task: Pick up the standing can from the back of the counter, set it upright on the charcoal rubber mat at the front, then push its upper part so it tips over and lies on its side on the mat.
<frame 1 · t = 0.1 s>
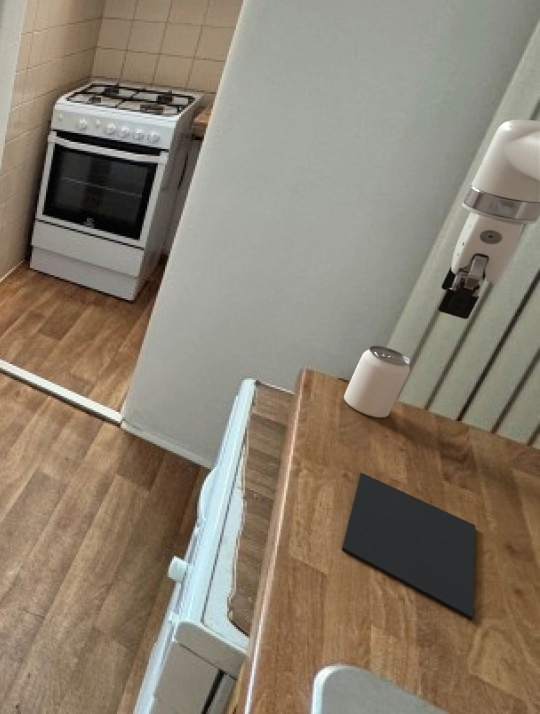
hand: (453, 302, 94), 29 cm above the countertop, tool pointing down, fingers open, 9 cm apart
can: (364, 407, 114), on the countertop
mat: (409, 538, 88), on the countertop
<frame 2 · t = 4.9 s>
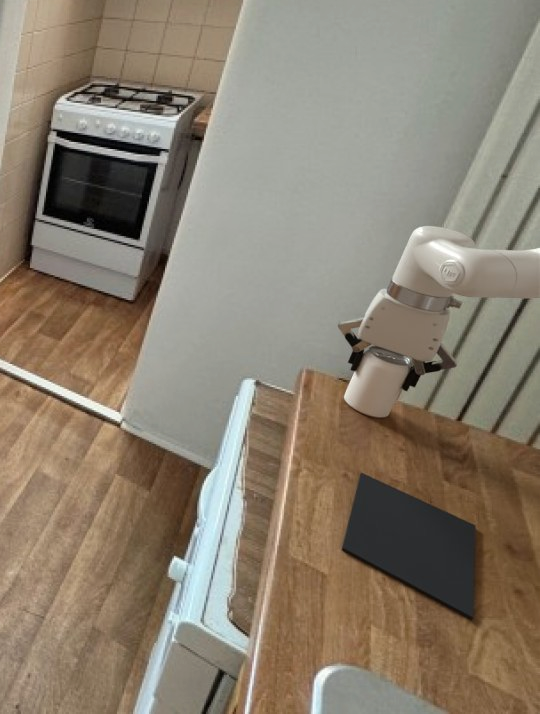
hand: (379, 376, 111), 7 cm above the countertop, tool pointing down, fingers closed on can, 6 cm apart
can: (364, 407, 114), on the countertop, touching gripper
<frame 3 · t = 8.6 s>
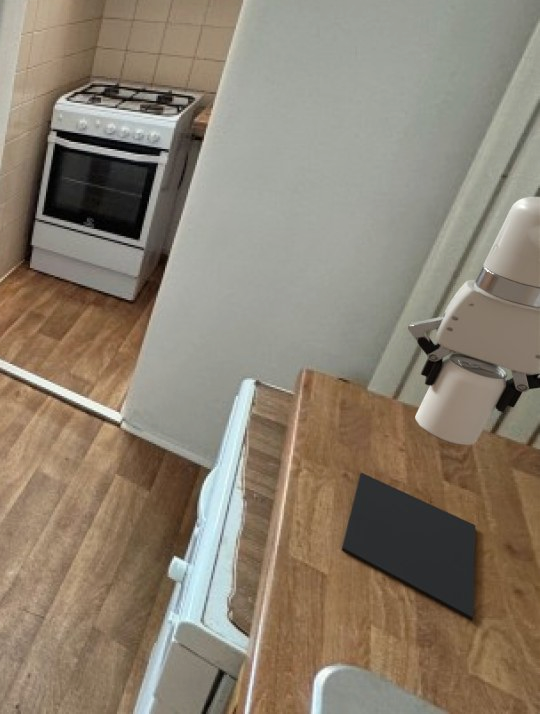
hand: (463, 392, 87), 21 cm above the countertop, tool pointing down, fingers closed on can, 6 cm apart
can: (443, 431, 90), point 14 cm above the countertop, touching gripper
when the fingers open (8 cm above the countertop, at t = 12.5 s): can stays where it is, resting on mat.
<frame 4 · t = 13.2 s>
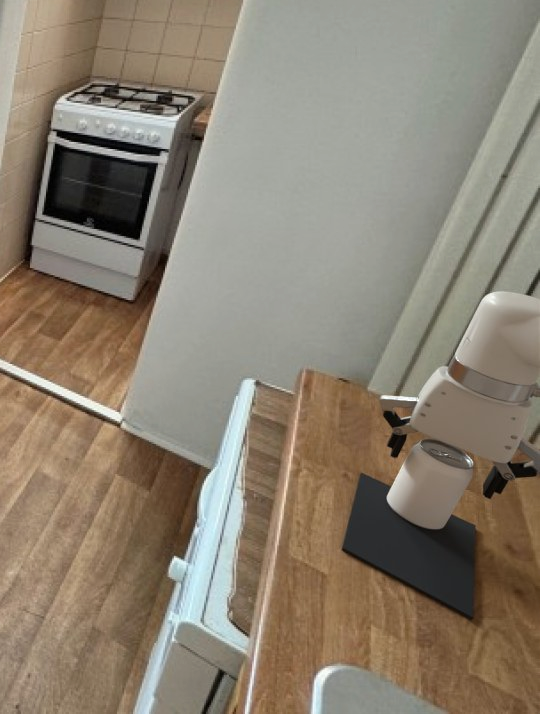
hand: (438, 471, 89), 9 cm above the countertop, tool pointing down, fingers open, 9 cm apart
can: (413, 513, 92), resting on mat
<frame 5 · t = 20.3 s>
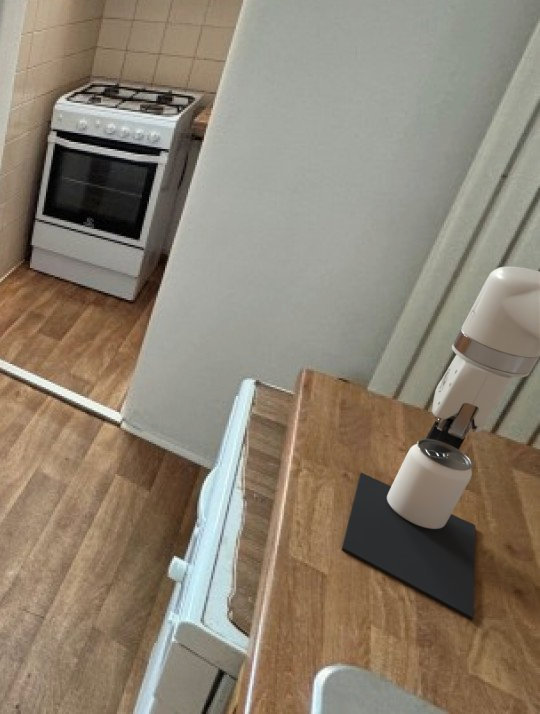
hand: (438, 449, 91), 10 cm above the countertop, tool pointing down, fingers closed
can: (413, 512, 92), point 1 cm above the countertop, touching gripper, mat
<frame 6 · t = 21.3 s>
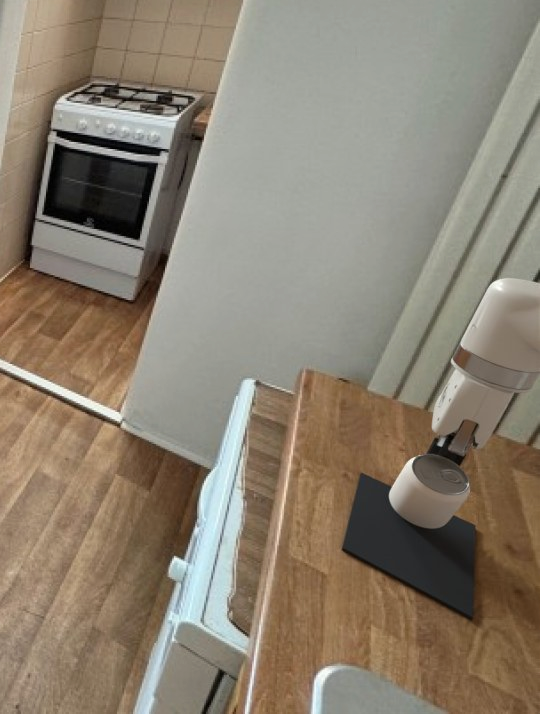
hand: (439, 466, 88), 10 cm above the countertop, tool pointing down, fingers closed
can: (417, 507, 91), point 2 cm above the countertop, touching mat
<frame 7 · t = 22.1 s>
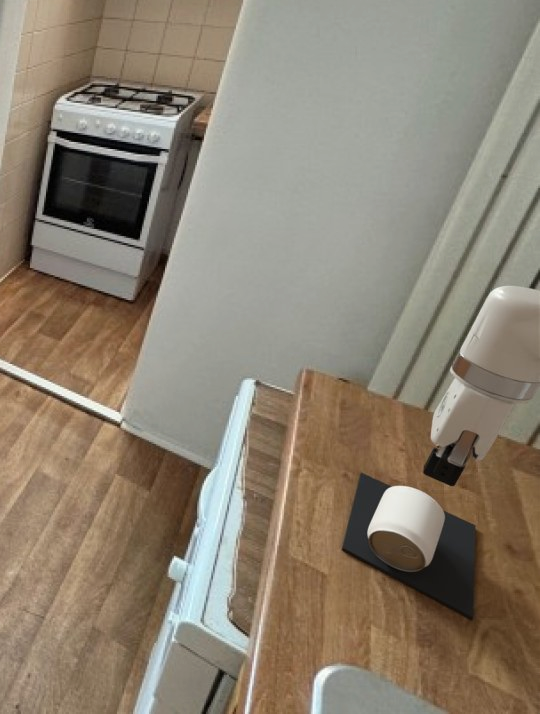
hand: (438, 477, 87), 10 cm above the countertop, tool pointing down, fingers closed
can: (413, 505, 89), point 4 cm above the countertop, touching mat
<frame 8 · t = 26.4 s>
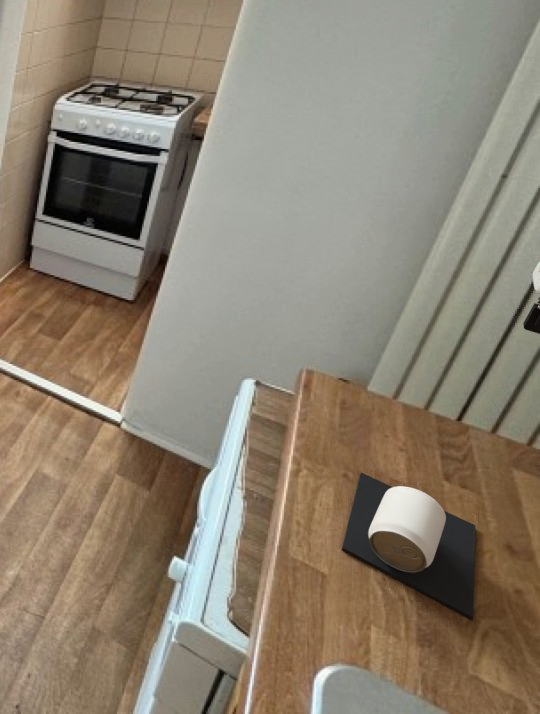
hand: (538, 331, 91), 27 cm above the countertop, tool pointing down, fingers closed
nothing on the countertop moved.
at the end: can tilted 90°; can inside the target area on the mat (3.1 cm from its centre), point 3.7 cm above the mat's base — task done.
